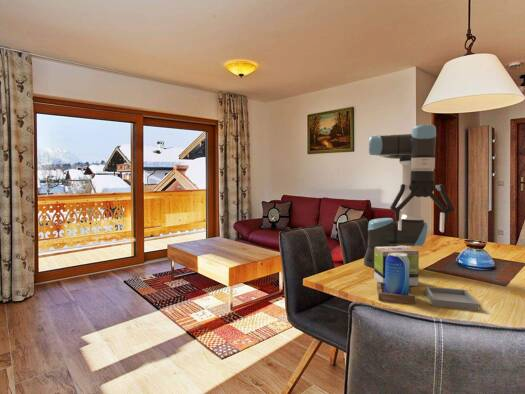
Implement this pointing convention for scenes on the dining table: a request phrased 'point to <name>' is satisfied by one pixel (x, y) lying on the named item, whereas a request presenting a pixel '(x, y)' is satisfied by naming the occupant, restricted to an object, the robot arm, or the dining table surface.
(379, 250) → the tea box
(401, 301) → the frame
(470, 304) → the tray
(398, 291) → the beer can
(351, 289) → the dining table surface
